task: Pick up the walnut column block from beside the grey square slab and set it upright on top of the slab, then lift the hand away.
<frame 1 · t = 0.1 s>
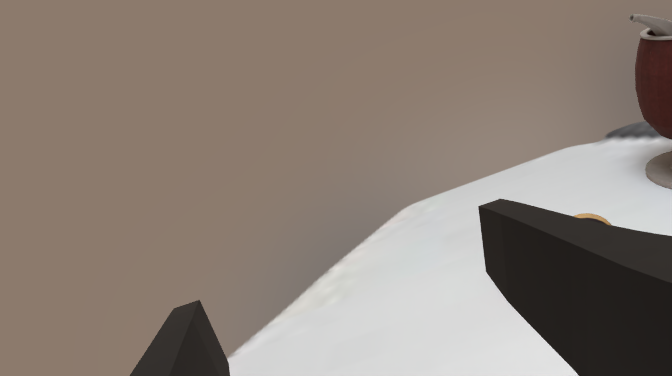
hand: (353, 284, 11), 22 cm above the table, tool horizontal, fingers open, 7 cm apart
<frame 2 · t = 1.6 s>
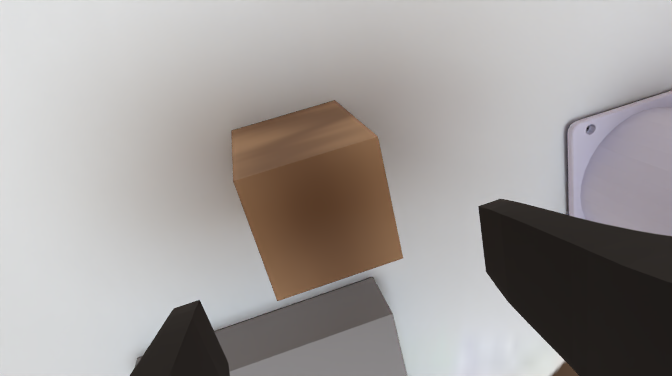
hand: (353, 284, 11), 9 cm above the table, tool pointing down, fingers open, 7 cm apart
walnut block: (298, 163, 20), on the table
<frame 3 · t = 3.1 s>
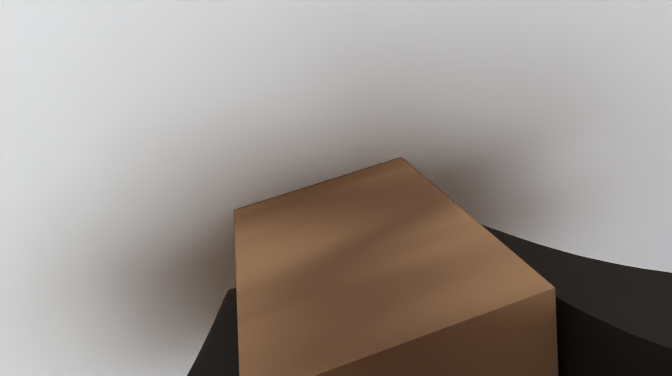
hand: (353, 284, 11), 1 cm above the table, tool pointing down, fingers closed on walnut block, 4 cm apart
walnut block: (339, 255, 12), on the table, touching gripper
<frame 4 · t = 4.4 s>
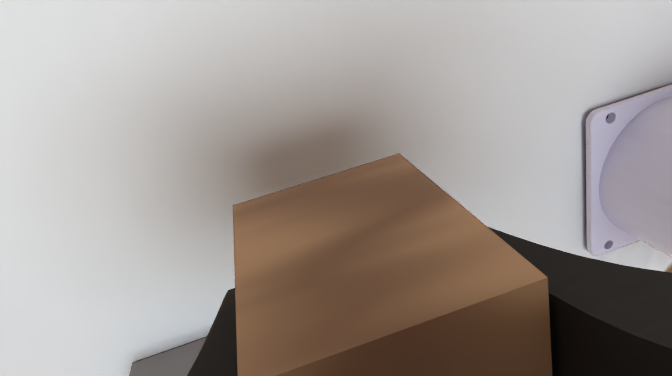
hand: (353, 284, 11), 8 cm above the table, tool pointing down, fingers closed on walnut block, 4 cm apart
walnut block: (337, 251, 12), point 7 cm above the table, touching gripper
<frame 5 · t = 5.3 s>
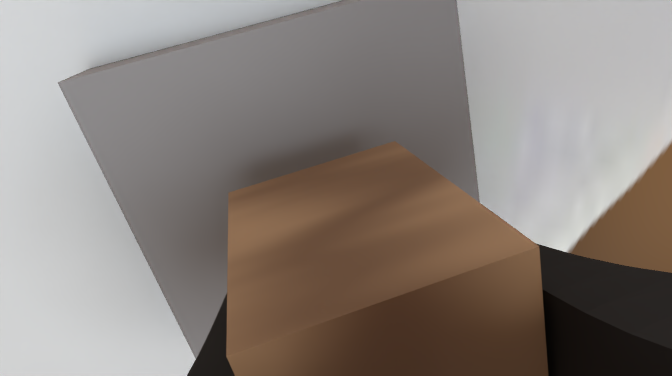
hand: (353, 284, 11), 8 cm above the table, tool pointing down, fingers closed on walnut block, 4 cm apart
walnut block: (334, 239, 12), point 6 cm above the table, touching gripper
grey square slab: (303, 174, 18), on the table
when the fingers open (6 cm above the table, at t = 6.1 s): walnut block drops 1 cm, resting on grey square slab.
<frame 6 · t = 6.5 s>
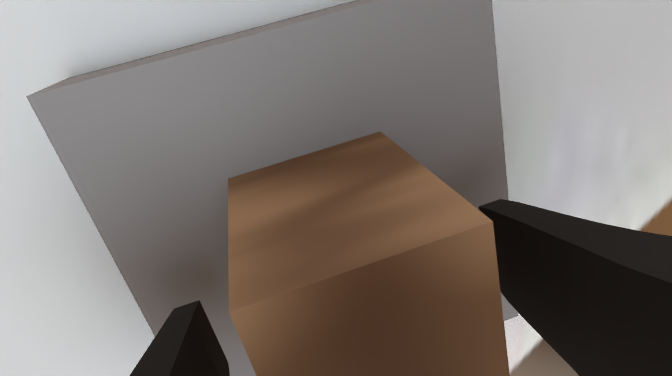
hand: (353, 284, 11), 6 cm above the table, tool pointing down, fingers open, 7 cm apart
walnut block: (325, 222, 13), point 3 cm above the table, touching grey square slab
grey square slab: (311, 194, 16), on the table
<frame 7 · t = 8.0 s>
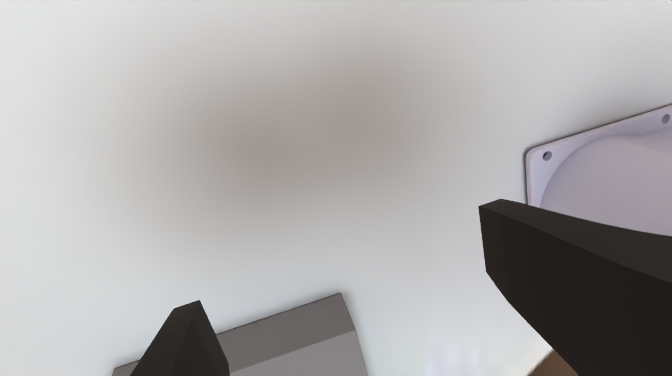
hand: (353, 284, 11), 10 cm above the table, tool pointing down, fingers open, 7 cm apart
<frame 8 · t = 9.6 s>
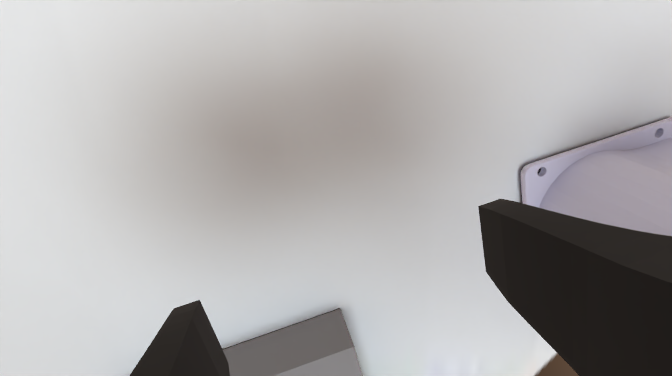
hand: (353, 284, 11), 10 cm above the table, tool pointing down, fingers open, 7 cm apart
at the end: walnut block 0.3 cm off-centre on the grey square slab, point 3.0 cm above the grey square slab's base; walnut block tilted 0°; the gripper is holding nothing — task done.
